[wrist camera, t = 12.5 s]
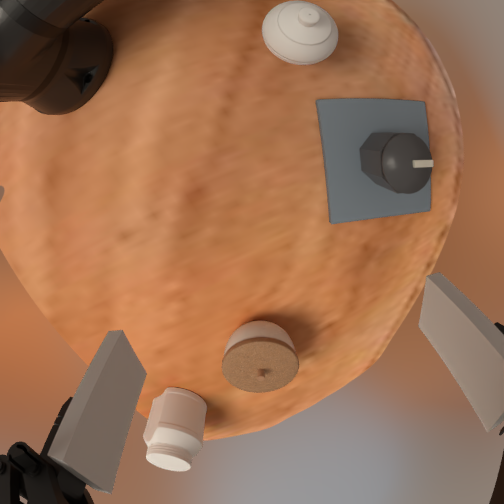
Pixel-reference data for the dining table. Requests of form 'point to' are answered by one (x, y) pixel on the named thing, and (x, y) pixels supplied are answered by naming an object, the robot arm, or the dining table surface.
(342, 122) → the shaft plate
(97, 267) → the dining table surface
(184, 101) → the dining table surface
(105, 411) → the robot arm
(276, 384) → the lidded jar
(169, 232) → the dining table surface
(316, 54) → the spinning top
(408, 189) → the knob
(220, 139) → the dining table surface
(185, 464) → the jar
